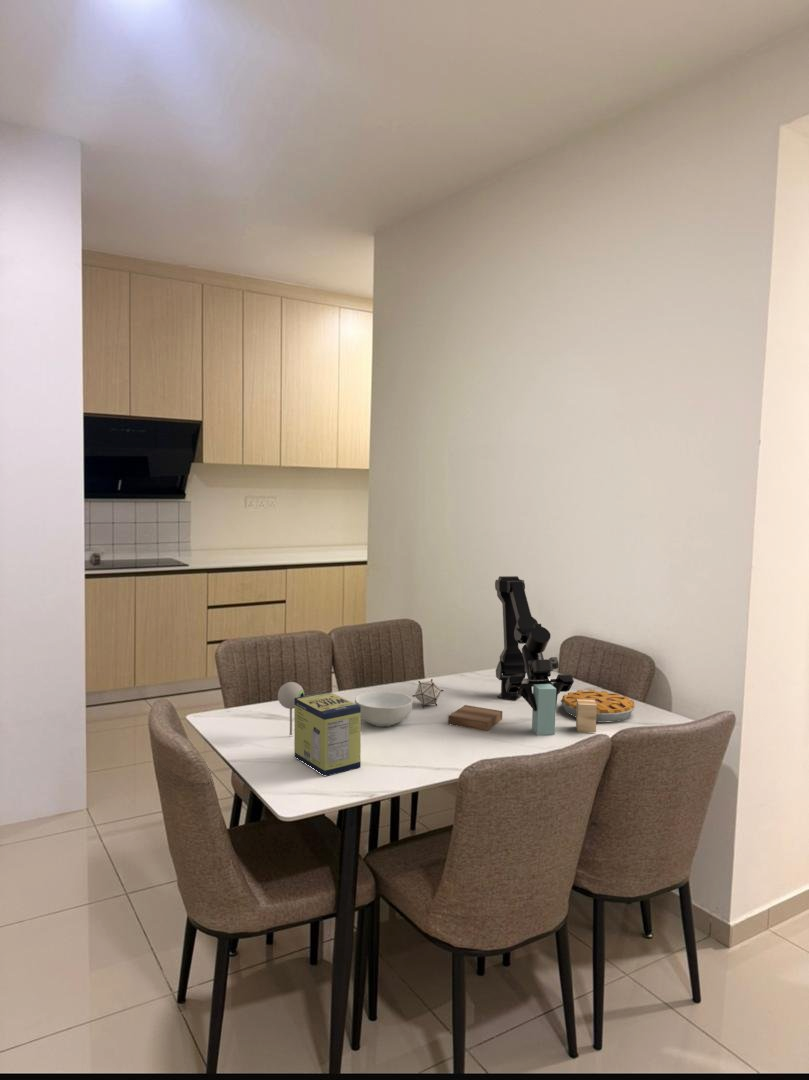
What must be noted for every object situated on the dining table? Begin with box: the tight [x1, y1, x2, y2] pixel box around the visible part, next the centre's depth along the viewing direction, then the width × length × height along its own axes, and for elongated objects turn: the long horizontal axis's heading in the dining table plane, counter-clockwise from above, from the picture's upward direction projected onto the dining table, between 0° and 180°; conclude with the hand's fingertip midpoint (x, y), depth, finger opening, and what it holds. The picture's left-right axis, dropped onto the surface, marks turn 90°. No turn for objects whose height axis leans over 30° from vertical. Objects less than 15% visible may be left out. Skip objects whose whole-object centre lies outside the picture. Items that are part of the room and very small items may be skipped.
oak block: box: [575, 699, 597, 733], centre depth 214 cm, size 5×5×8 cm
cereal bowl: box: [354, 691, 413, 727], centre depth 219 cm, size 17×17×7 cm
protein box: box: [293, 691, 362, 776], centre depth 187 cm, size 10×16×16 cm
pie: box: [560, 689, 637, 722], centre depth 231 cm, size 22×22×5 cm
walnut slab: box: [447, 704, 504, 732], centre depth 221 cm, size 12×12×3 cm
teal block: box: [531, 684, 557, 736], centre depth 212 cm, size 5×5×13 cm
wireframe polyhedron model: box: [412, 678, 444, 709], centre depth 235 cm, size 9×8×10 cm
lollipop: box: [277, 681, 305, 736], centre depth 205 cm, size 7×7×15 cm
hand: (545, 710), depth 210 cm, fingers closed on teal block, 5 cm apart
